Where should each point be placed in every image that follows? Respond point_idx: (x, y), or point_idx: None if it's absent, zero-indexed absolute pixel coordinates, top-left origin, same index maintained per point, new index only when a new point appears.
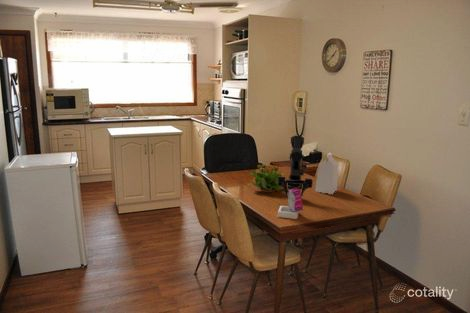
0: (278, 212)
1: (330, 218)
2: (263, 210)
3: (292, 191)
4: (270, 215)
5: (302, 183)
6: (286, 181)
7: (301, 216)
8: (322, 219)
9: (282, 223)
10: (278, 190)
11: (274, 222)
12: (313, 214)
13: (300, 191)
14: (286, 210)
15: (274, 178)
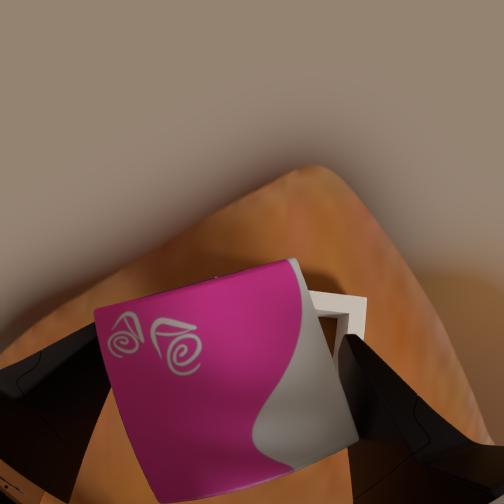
0: (360, 298)
1: (40, 323)
2: (434, 398)
3: (265, 290)
4: (396, 320)
5: (10, 496)
6: (496, 487)
7: None
8: (75, 304)
9: (317, 200)
10: None
11: (361, 208)
12: None
13: (105, 309)
14: None
15: None
